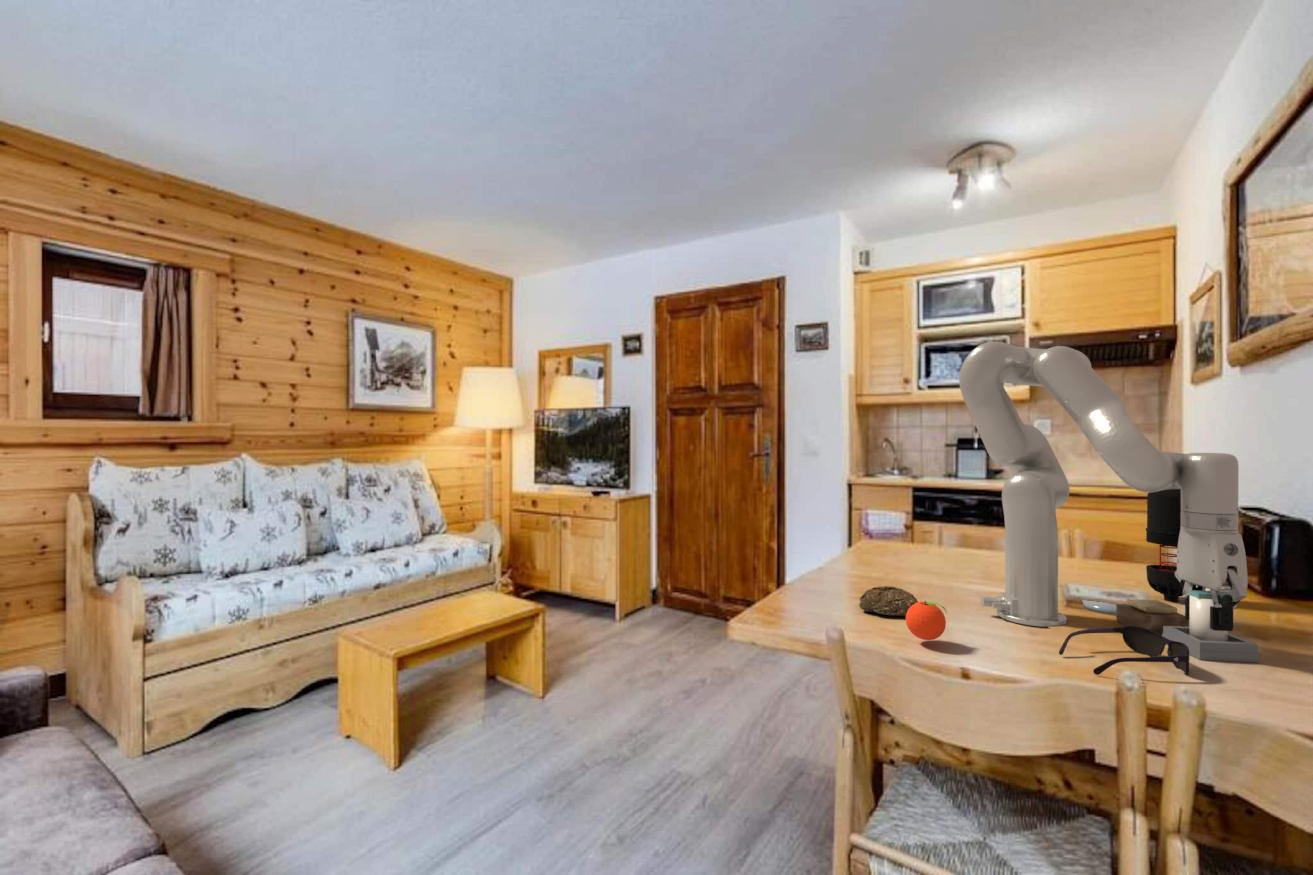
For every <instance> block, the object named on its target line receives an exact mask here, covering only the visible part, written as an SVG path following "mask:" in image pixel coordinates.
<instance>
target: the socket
mask: <svg viewBox="0 0 1313 875" xmlns="http://www.w3.org/2000/svg"><path fill="white" fill-rule="evenodd" d="M1161 636H1163V637H1165V638H1167V639H1169V640H1172V641H1177V642H1182V643H1184V644H1185V645H1187V647H1188V649H1189V656H1191V657H1193V658H1194V659H1197V660H1199V661H1213V662H1214V661H1216V662H1238V663H1239V662H1240V663H1260V653H1259V645H1258V643H1255V642H1253V641H1250V640H1247V639H1245V638H1242V637H1240V636H1237V635H1235V634H1232V633H1229V632H1228V641H1204V640H1200V639H1198V638H1195V637H1193V636H1191V635H1189V627H1180V626H1163V634H1161Z"/></svg>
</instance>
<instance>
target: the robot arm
mask: <svg viewBox="0 0 1313 875" xmlns="http://www.w3.org/2000/svg"><path fill="white" fill-rule="evenodd" d="M958 383H959V389H960V393H961V396H962V398H963V400H964V403H965V405H966V407H967V409H968V411H969V414H970V415H971V416H970V417H971V418H972V421H973V423H974V425H975V427H976V430H977V432H978V434H979V436H980V439H981V441H982V443H983V445H984V448H985V449H986V451H987V454H988V457H990V459H991V460H992V461H993V462H994V463H996V464H998V465H999V466H1006V467H1008V468H1009V470H1010V472H1011V475H1009V477H1008V478H1007V480H1006V481H1005V482H1004V484H1003V487H1002V491H1001V502H1002V503H1001V504H1002V509H1003V516H1004V517H1003V518H1004V546H1005V547H1004V556H1005V557H1004V561H1005V562H1004V570H1005V571H1004V575H1005V576H1004V592H999V595H998V596H996V597H987V596H981V597H980V604H981V606H982V607H992V609H995V610H996V615H998V616H999V617H1000V618H1001V619H1004V620H1006V621H1008V622H1012V623H1017V624H1019V625H1026V626H1032V627H1042V628H1048V627H1058V626H1060V627H1061V626H1064V625H1067V623H1068V617H1067V616H1066V615H1065V614H1063V613H1061V612H1060V611H1059V530H1058V521H1057V512H1056V510H1057V509H1058V508H1061V507H1062V506H1063V505H1064V504H1065V503H1066V502H1067V501H1068V498H1069V496H1070V490H1071V489H1070V484H1069V481H1068V479H1067V476H1066V474H1065V472H1064V470H1063V468H1062V467H1061V464H1060V462H1059V460H1058V458H1057V456H1056V454H1055V452H1054V451H1053V449H1052V446H1051V445H1050V442H1049V441H1048V439H1047V437H1046V436H1045V435H1044V433H1043V432H1042V431H1041V430H1040V429H1039V428H1037V427H1036V426H1033V425H1031V424H1028V423H1024V422H1023V420H1022V418H1021V417H1020V414H1019V413H1018V411H1017V409H1016V406H1015V404H1014V402H1013V400H1012V398H1011V397H1010V395H1009V394H1008V392H1007V390H1006V389H1005V387H1004V384H1003V383H1005V384H1012V385H1024V386H1030V387H1041V388H1044V389H1045V390H1046V391H1047V393H1049V394H1050V395H1051V396H1052V398H1053V399H1055V401H1056V402H1057V404H1059V406H1061V408H1062V409H1063V410H1064V411H1065V412H1066V413H1067V414H1068V416H1069V417H1070V418H1071V419H1072V420H1073V421H1074V422H1075V423H1076V425H1077V426H1078V427H1079V429H1080V431H1081V433H1083V435H1084V436H1085V438H1086V439H1087V440H1088V441H1089V443H1090V444H1091V446H1092V448H1094V450H1095V451H1096V452H1097V454H1098V455H1099V456H1100V457H1101V459H1102V460H1103V461H1104V462H1105V463H1106V464H1107V465H1108V467H1109V468H1110V469H1111V470H1112V471H1113V472H1114V473H1115V475H1116V476H1118V478H1119V479H1120V480H1121V481H1122V482H1123V483H1124V484H1126V485H1127V486H1128V487H1129V488H1131V489H1133V490H1135V491H1138V492H1141V493H1145V494H1146V493H1147V494H1148V493H1153V492H1158V491H1162V490H1169V489H1181V529H1180V534H1179V540H1178V549H1176V550H1177V551H1176V555H1177V557H1176V563H1177V570H1176V572H1175V576H1176V578H1177V579H1178V581H1179V582H1180V585H1181V587H1182V588H1183V596H1182V597H1184V602H1185V603H1184V607H1185V608H1184V611H1185V612H1184V616H1185V618H1186V619H1187V620H1189V608H1190V595H1188V590H1195V591H1206V589H1209V591H1211V596H1212V601H1213V605H1214V607H1213V606H1210V628H1211V629H1212V630H1215V631H1228V632H1232V631H1233V630H1234V610H1235V609H1236V608H1237V604H1239V603H1240V602H1241V601H1242V600H1244V599H1245V598H1246V597H1247V596H1248V592H1247V589H1248V584H1249V583H1248V581H1249V580H1248V567H1247V566H1248V565H1247V564H1248V563H1247V556H1246V549H1245V545H1244V544H1245V543H1244V541H1243V537H1242V534H1241V533H1239V460H1238V458H1237V457H1236V456H1235V455H1233V454H1230V453H1224V452H1222V453H1220V452H1191V453H1180V452H1173V451H1172V452H1170V451H1163V450H1158V448H1156V446H1154V445H1153V443H1151V441H1150V440H1149V439H1148V438H1147V437H1146V436H1145V435H1144V434H1143V433H1142V432H1141V431H1140V429H1139V428H1138V427H1137V426H1136V424H1135V423H1134V422H1133V420H1132V419H1131V418H1130V416H1129V414H1128V411H1127V408H1126V405H1125V403H1124V400H1123V399H1122V398H1121V396H1120V395H1119V394H1118V393H1116V391H1114V389H1113V388H1112V387H1111V386H1110V385H1108V383H1107V382H1106V381H1104V379H1103V378H1102V377H1101V376H1100V375H1099V373H1097V371H1095V370H1094V369H1093V368H1092V363H1091V361H1090V359H1089V358H1088V356H1087V355H1086V354H1084V353H1083V352H1081V351H1080V350H1078V349H1077V350H1076V349H1075V348H1072V347H1069V346H1063V345H1056V346H1052V347H1049V348H1036V347H1025V346H1017V345H1014V344H1010V343H1007V342H1002V341H987V342H984V343H980V344H979V345H977V346H976V347H975V348H974V349H972V350H971V351H970V353H968V355H967V356H966V357H965V359H964V360H963V362H962V365H961V368H960V370H959V379H958ZM1223 587H1224V588H1223ZM1220 593H1225V595H1224V596H1223V597H1222V598H1220Z"/></svg>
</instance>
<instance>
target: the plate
mask: <svg viewBox="0 0 1313 875" xmlns="http://www.w3.org/2000/svg"><path fill="white" fill-rule="evenodd" d="M1082 602H1083V605H1082V607H1083V608H1084V609H1087V610H1088V611H1091V612H1096V613H1099V614H1100V613H1101V614H1106V615H1110V616H1111V615H1112V616H1116V605H1115V604H1109V603H1103V602H1096V601H1087V600H1083V599H1082Z"/></svg>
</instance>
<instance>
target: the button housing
mask: <svg viewBox="0 0 1313 875" xmlns="http://www.w3.org/2000/svg"><path fill="white" fill-rule="evenodd" d="M1115 616H1116V618H1115V619H1116V622H1118V623H1121V625H1124V626H1140V627H1144V628H1147V629H1150V630H1152V631H1154V632H1156V633H1158V634H1160V635H1162V634H1163V626H1180V627H1189V620H1187V619H1186V618H1185V614H1181V613H1179V612H1178V611H1177V612H1171V615H1170V614H1146V613H1143V612H1141V611H1139V610H1137V609H1134V608H1132V605H1130V604H1116V615H1115Z"/></svg>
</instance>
